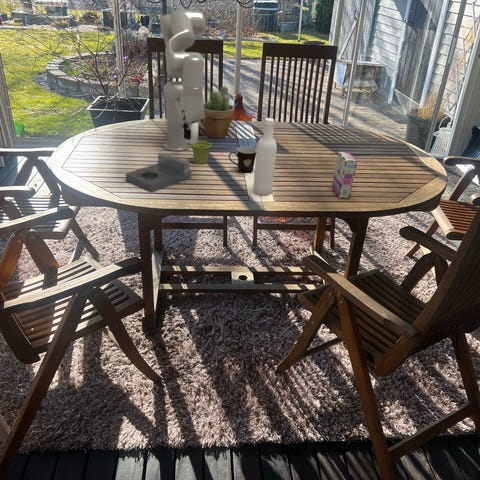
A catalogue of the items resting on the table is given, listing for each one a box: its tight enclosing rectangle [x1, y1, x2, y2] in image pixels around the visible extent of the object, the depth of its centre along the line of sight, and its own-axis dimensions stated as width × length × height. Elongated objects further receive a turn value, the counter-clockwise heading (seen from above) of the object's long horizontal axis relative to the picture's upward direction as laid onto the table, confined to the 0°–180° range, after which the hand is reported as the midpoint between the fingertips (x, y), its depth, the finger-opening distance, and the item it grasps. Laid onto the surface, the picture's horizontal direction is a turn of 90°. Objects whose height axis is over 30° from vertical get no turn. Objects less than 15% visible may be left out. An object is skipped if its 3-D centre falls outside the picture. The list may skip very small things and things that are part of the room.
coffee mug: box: [228, 146, 257, 174], centre depth 204 cm, size 12×9×10 cm
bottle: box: [252, 117, 278, 196], centre depth 181 cm, size 8×8×30 cm
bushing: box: [186, 121, 199, 145], centre depth 182 cm, size 5×5×8 cm
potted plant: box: [202, 85, 235, 139], centre depth 243 cm, size 18×19×25 cm
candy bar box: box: [331, 151, 358, 199], centre depth 188 cm, size 11×5×16 cm, turn 5°
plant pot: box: [190, 140, 212, 165], centre depth 211 cm, size 9×9×9 cm
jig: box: [125, 152, 192, 193], centre depth 190 cm, size 22×16×7 cm
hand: (192, 136), depth 183 cm, fingers closed on bushing, 4 cm apart
